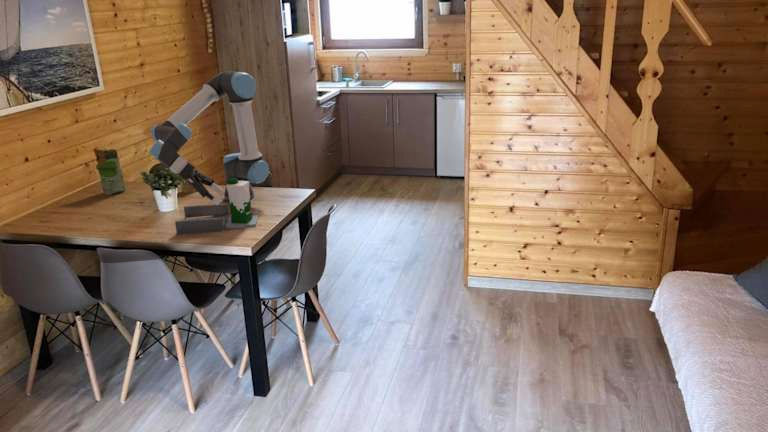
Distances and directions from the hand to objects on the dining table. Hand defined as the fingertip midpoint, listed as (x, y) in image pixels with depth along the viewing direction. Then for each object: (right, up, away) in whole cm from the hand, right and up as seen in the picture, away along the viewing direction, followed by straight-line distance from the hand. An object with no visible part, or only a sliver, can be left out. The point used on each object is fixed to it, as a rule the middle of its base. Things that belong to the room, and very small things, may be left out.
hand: (221, 198), depth 285 cm
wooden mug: (-33, +6, +58) cm, 67 cm away
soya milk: (+8, -10, +4) cm, 14 cm away
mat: (+8, -11, +5) cm, 15 cm away
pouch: (-74, +5, +59) cm, 95 cm away
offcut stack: (-8, -13, 0) cm, 16 cm away
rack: (-9, -12, +4) cm, 16 cm away
